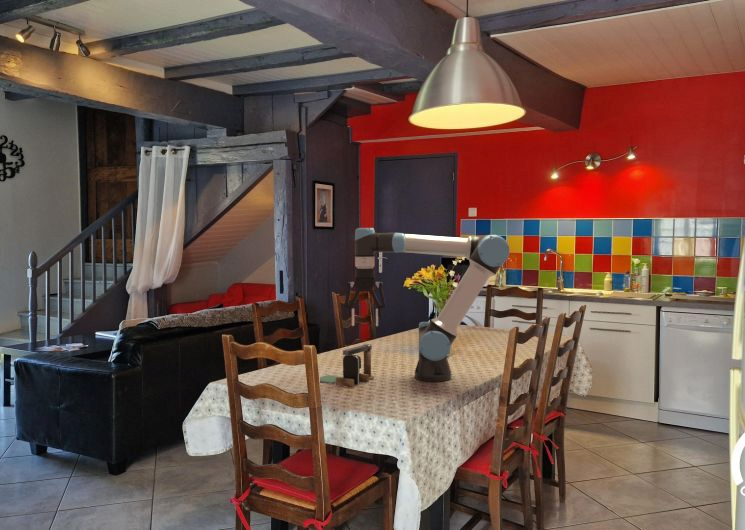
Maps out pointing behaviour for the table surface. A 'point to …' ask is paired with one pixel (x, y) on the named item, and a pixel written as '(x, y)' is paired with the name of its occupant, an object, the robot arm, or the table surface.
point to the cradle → (362, 377)
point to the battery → (352, 368)
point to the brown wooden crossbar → (357, 349)
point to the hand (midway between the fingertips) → (365, 325)
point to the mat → (328, 379)
